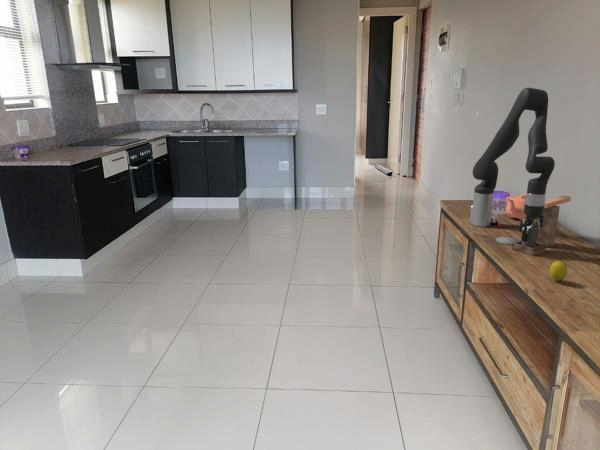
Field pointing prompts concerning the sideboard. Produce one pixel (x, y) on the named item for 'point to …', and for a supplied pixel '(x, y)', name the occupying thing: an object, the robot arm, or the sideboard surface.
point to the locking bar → (556, 201)
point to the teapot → (516, 207)
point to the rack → (542, 233)
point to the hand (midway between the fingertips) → (529, 239)
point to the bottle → (532, 235)
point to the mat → (506, 240)
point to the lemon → (558, 270)
